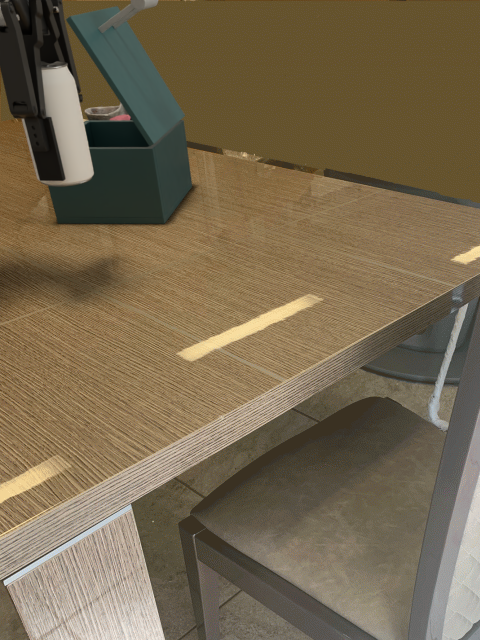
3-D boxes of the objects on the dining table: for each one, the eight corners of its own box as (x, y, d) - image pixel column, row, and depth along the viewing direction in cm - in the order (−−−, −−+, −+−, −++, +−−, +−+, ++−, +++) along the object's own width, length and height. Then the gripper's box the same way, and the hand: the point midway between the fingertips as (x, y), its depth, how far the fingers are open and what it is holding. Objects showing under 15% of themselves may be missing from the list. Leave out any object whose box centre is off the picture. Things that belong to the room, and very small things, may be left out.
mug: (94, 139, 146) (84, 90, 140) (150, 136, 148) (142, 88, 142) (88, 149, 139) (77, 98, 133) (147, 146, 140) (139, 95, 134)
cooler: (57, 223, 100) (38, 148, 94) (100, 186, 116) (85, 120, 110) (164, 223, 99) (152, 148, 93) (192, 186, 115) (183, 119, 109)
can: (29, 178, 77) (-1, 64, 69) (81, 168, 80) (57, 58, 73) (50, 190, 73) (20, 71, 65) (104, 180, 76) (81, 65, 69)
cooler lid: (65, 19, 84) (116, -21, 81) (113, 8, 100) (158, -25, 97) (149, 146, 93) (198, 114, 90) (181, 118, 109) (224, 90, 106)
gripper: (13, -74, 70) (64, 150, 84) (-88, -81, 54) (-5, 196, 68) (80, -74, 70) (120, 150, 83) (-1, -81, 54) (64, 197, 68)
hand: (64, 170), depth 76 cm, fingers closed on can, 6 cm apart
